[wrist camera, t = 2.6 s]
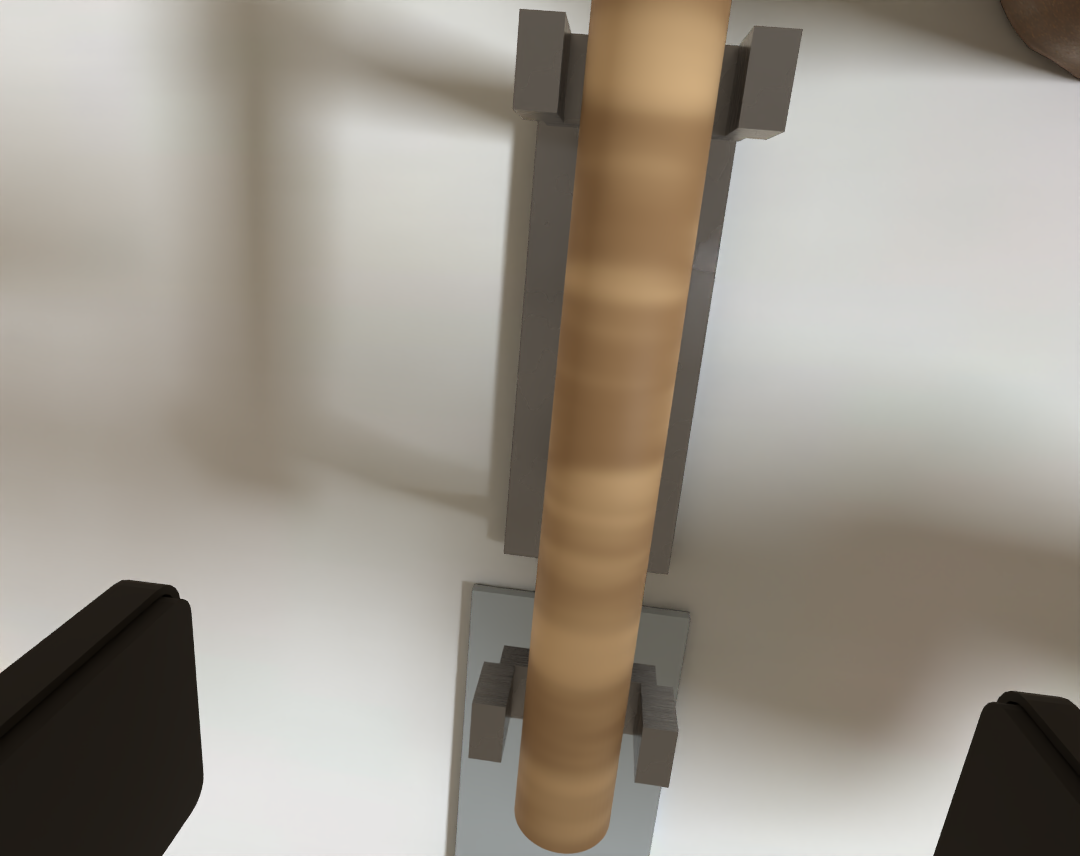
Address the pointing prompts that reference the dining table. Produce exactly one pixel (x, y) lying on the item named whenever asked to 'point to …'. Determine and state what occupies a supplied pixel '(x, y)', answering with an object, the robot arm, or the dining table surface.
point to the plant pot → (1049, 29)
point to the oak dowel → (613, 395)
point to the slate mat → (490, 787)
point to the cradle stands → (555, 102)
